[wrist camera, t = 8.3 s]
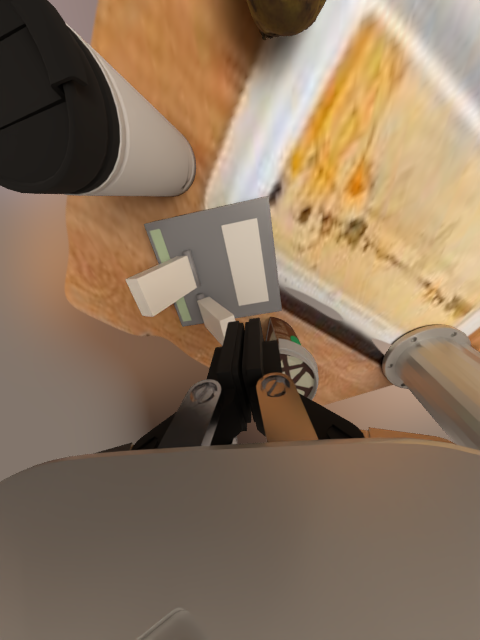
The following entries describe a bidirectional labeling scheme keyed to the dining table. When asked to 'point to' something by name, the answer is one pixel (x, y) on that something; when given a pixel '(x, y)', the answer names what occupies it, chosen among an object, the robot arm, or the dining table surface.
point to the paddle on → (164, 284)
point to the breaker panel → (224, 257)
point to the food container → (294, 357)
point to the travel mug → (78, 117)
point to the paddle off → (214, 316)
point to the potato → (284, 16)
